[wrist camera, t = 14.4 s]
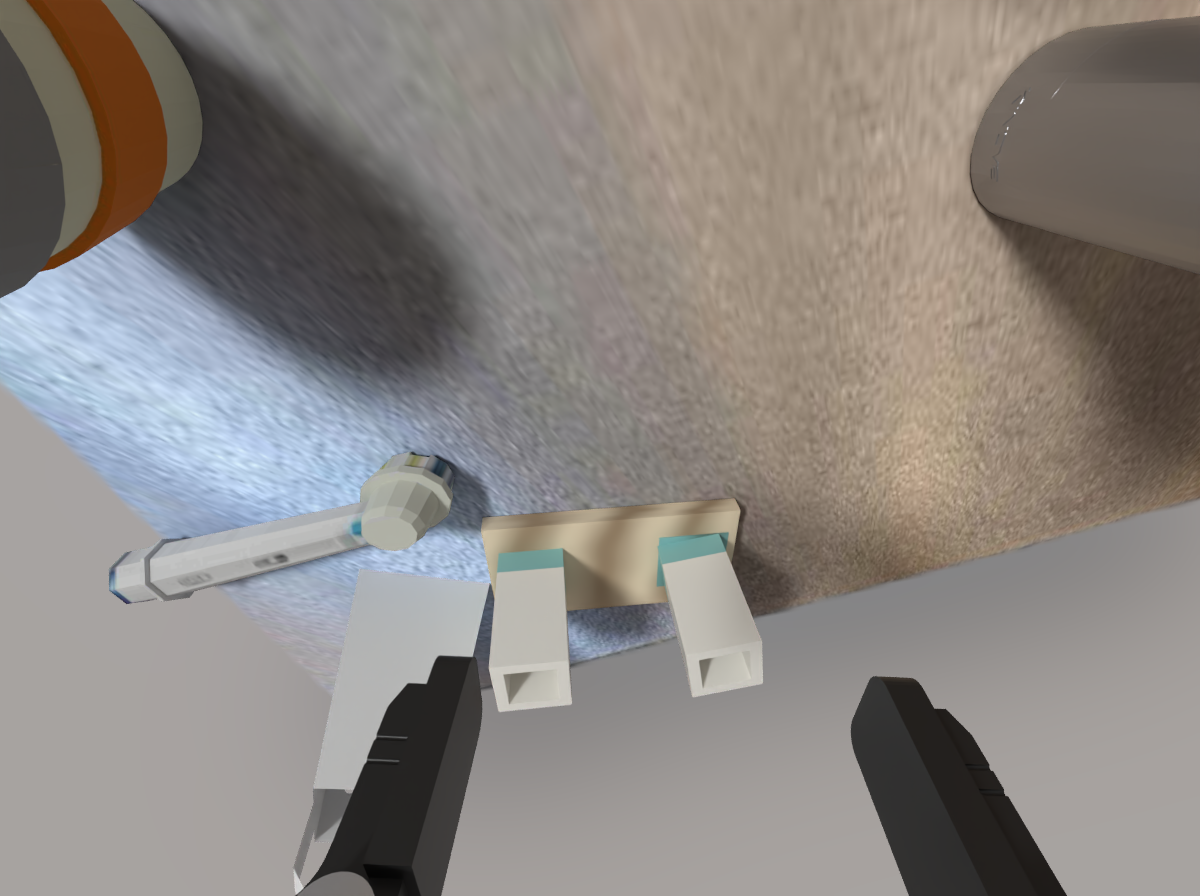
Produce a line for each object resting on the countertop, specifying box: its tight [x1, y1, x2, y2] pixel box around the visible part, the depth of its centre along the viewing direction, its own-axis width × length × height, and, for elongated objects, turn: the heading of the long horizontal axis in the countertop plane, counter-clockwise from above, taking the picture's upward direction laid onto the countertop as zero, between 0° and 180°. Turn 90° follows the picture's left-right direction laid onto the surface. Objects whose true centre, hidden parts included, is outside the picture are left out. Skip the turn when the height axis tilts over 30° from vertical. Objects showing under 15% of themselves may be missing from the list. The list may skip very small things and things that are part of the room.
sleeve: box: [657, 534, 763, 697], centre depth 40 cm, size 5×5×10 cm
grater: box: [293, 569, 490, 895], centre depth 39 cm, size 10×10×20 cm
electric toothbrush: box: [109, 452, 455, 604], centre depth 38 cm, size 5×7×25 cm
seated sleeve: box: [489, 548, 572, 712], centre depth 39 cm, size 5×5×10 cm
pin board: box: [481, 498, 740, 611], centre depth 42 cm, size 20×10×6 cm, turn 91°
